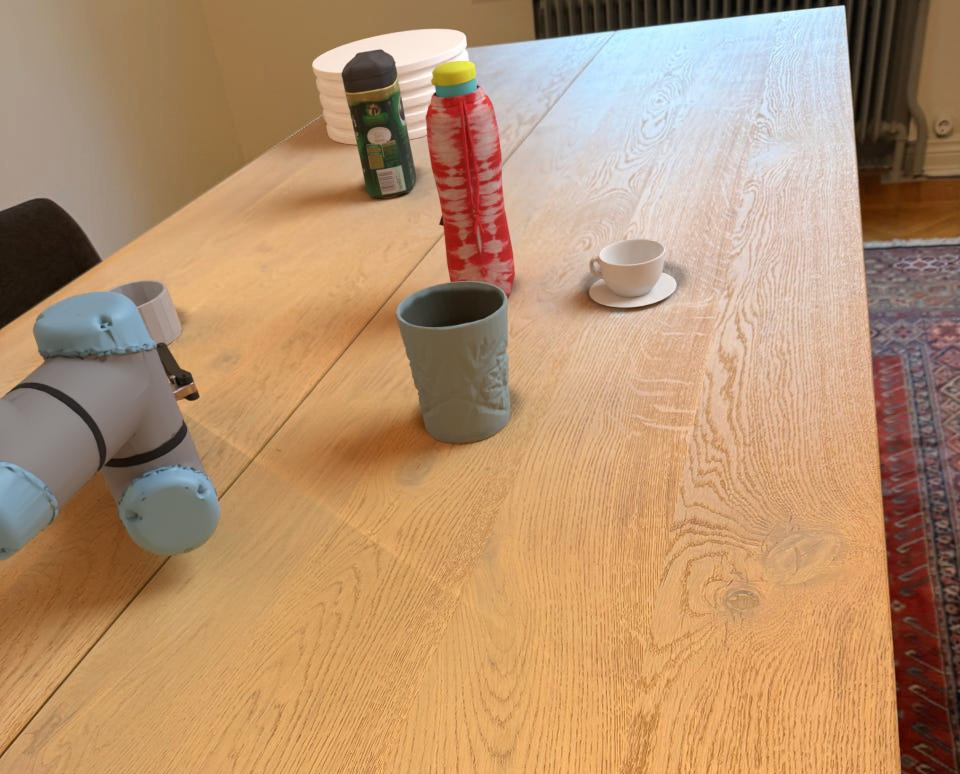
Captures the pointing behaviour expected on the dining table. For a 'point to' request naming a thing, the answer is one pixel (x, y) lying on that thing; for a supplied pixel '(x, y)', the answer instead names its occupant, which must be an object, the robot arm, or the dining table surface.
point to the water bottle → (469, 177)
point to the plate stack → (414, 72)
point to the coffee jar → (379, 123)
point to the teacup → (631, 274)
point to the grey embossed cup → (458, 358)
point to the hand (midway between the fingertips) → (102, 345)
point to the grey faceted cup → (153, 308)
